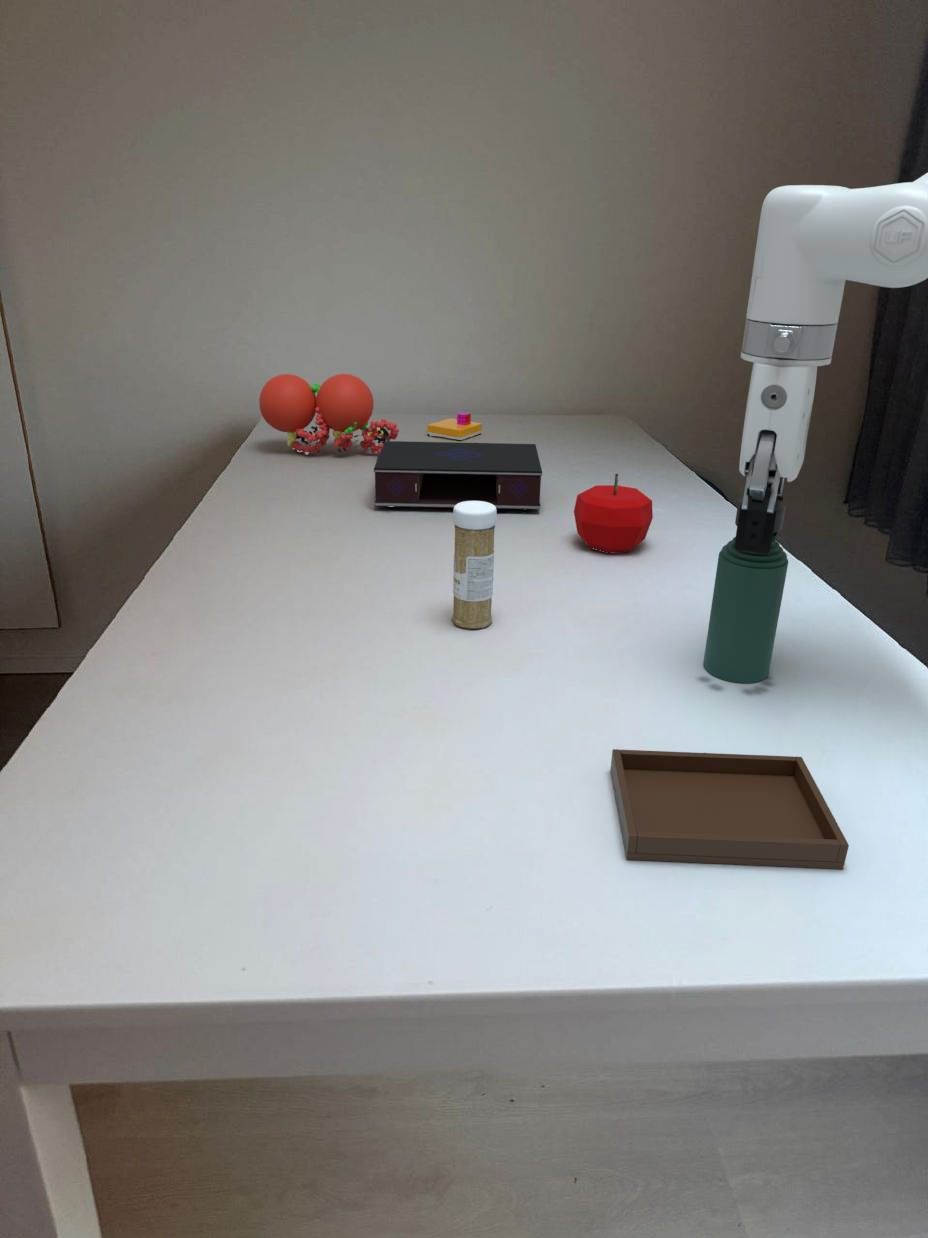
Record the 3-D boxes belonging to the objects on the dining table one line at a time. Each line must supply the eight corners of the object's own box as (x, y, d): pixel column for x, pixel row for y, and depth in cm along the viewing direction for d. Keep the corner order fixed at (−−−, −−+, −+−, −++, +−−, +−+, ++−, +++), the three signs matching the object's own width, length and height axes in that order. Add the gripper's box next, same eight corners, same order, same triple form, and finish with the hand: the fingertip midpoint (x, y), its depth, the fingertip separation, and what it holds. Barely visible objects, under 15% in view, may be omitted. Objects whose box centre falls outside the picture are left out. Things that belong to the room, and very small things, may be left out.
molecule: (256, 461, 161) (249, 372, 158) (271, 461, 172) (265, 377, 169) (395, 455, 160) (391, 365, 157) (402, 455, 171) (398, 371, 168)
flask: (759, 655, 94) (786, 497, 87) (776, 684, 88) (806, 518, 81) (697, 653, 94) (719, 495, 87) (710, 682, 89) (734, 516, 82)
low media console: (540, 514, 136) (542, 471, 134) (374, 511, 137) (373, 468, 134) (533, 482, 152) (535, 443, 150) (385, 479, 152) (384, 440, 150)
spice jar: (448, 614, 102) (450, 499, 97) (488, 612, 103) (492, 498, 97) (455, 631, 98) (457, 512, 93) (496, 629, 99) (500, 511, 93)
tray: (797, 778, 74) (801, 756, 73) (843, 869, 64) (849, 845, 63) (610, 770, 74) (612, 748, 73) (626, 859, 64) (629, 835, 63)
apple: (575, 530, 130) (580, 461, 126) (650, 536, 128) (657, 467, 124) (567, 555, 121) (572, 482, 117) (648, 562, 119) (656, 488, 115)
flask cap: (760, 516, 88) (763, 493, 87) (791, 529, 84) (796, 506, 83) (725, 522, 86) (728, 498, 85) (756, 535, 83) (760, 511, 82)
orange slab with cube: (460, 441, 179) (460, 419, 177) (427, 435, 183) (427, 414, 181) (481, 434, 185) (482, 413, 183) (449, 428, 189) (449, 408, 187)
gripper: (826, 359, 70) (787, 578, 78) (839, 335, 84) (805, 523, 92) (727, 351, 73) (698, 564, 80) (756, 330, 87) (729, 512, 94)
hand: (756, 540), depth 86 cm, fingers closed on flask cap, 4 cm apart
